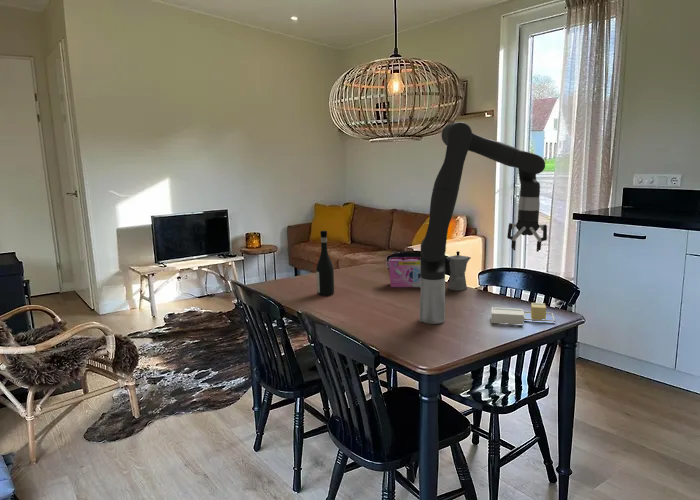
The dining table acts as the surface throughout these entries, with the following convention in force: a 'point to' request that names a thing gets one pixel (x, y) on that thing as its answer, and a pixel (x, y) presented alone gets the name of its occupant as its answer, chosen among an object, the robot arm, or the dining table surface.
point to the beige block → (538, 311)
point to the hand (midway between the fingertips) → (525, 250)
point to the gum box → (405, 271)
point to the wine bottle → (324, 270)
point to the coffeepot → (457, 271)
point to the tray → (538, 319)
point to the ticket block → (507, 315)
